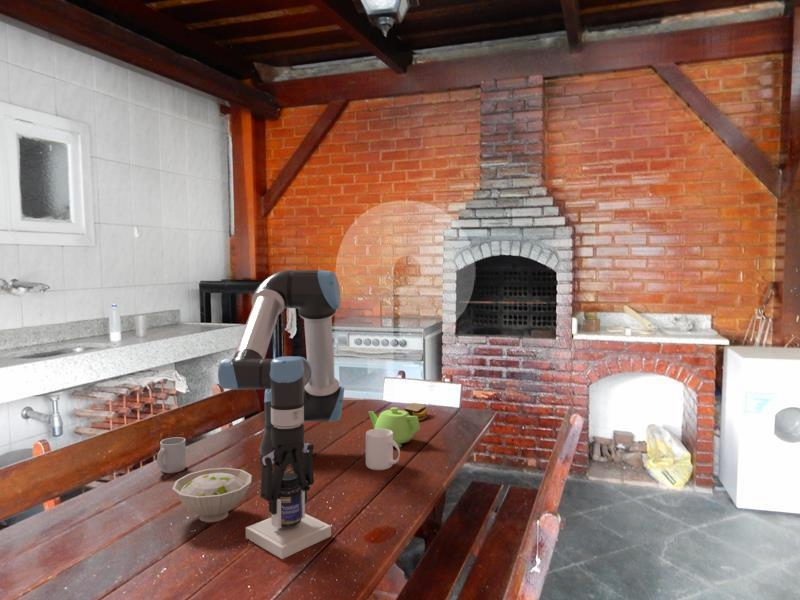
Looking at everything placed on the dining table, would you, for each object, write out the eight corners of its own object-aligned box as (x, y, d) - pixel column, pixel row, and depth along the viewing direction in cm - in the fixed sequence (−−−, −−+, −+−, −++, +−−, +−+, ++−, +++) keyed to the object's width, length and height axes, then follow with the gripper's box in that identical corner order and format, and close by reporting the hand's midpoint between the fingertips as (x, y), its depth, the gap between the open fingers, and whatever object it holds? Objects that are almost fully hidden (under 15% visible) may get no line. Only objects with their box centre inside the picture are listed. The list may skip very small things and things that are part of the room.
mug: (391, 475, 170) (391, 440, 170) (360, 467, 177) (360, 433, 176) (406, 466, 178) (407, 433, 177) (376, 459, 184) (376, 427, 183)
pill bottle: (278, 530, 128) (278, 483, 127) (271, 519, 133) (271, 473, 132) (305, 524, 130) (304, 478, 130) (297, 513, 136) (296, 469, 135)
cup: (190, 466, 177) (190, 438, 176) (167, 478, 167) (167, 448, 167) (172, 463, 179) (171, 436, 178) (148, 474, 170) (147, 445, 169)
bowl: (208, 541, 129) (207, 499, 129) (156, 521, 140) (155, 481, 139) (269, 510, 146) (268, 473, 145) (218, 494, 156) (218, 458, 155)
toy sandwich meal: (390, 418, 234) (390, 406, 233) (413, 412, 243) (413, 401, 243) (411, 424, 225) (412, 412, 225) (434, 418, 234) (434, 406, 234)
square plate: (245, 537, 131) (245, 526, 131) (294, 517, 142) (294, 507, 141) (281, 559, 122) (281, 547, 122) (330, 536, 132) (330, 525, 132)
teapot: (360, 443, 200) (360, 408, 199) (378, 433, 212) (378, 400, 211) (411, 452, 191) (411, 415, 190) (426, 441, 203) (427, 406, 202)
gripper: (261, 437, 120) (263, 541, 122) (329, 418, 135) (330, 512, 136) (242, 430, 125) (243, 530, 127) (309, 413, 140) (310, 503, 141)
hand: (288, 521), depth 132 cm, fingers closed on pill bottle, 6 cm apart
